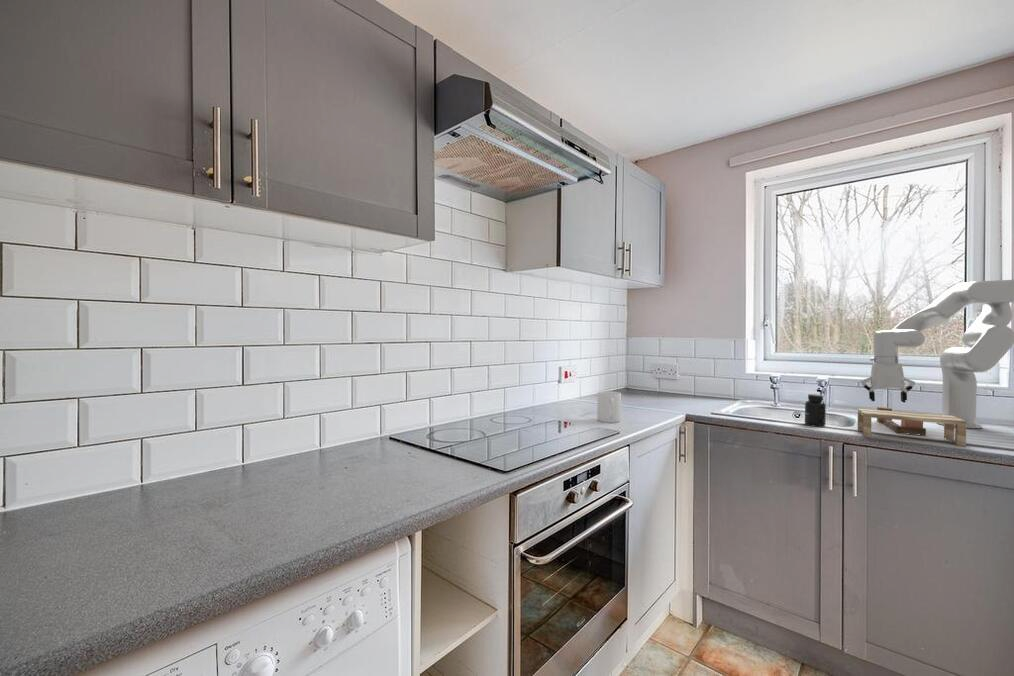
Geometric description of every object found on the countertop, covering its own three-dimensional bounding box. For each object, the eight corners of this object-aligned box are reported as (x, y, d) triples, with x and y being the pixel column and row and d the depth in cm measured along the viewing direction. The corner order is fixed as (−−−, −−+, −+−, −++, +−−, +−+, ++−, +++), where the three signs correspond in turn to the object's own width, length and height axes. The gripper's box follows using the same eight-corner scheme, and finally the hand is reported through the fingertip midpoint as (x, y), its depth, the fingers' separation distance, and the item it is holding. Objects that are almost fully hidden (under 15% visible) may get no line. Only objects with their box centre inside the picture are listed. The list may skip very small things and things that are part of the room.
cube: (900, 430, 165) (901, 417, 165) (918, 432, 162) (918, 418, 162) (904, 433, 161) (904, 419, 161) (922, 434, 158) (923, 421, 158)
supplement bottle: (800, 423, 176) (801, 394, 176) (811, 422, 179) (811, 393, 179) (818, 427, 170) (819, 396, 169) (829, 425, 172) (829, 395, 172)
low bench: (857, 430, 165) (857, 408, 165) (951, 438, 152) (952, 415, 152) (863, 436, 155) (864, 413, 154) (965, 446, 141) (966, 421, 141)
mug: (614, 418, 185) (614, 390, 185) (628, 424, 173) (628, 394, 173) (593, 419, 183) (593, 391, 182) (606, 425, 171) (606, 395, 171)
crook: (876, 420, 183) (877, 406, 183) (905, 423, 179) (905, 408, 179) (893, 432, 161) (893, 416, 161) (925, 435, 156) (926, 419, 156)
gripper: (861, 361, 181) (863, 401, 181) (916, 360, 173) (918, 403, 173) (858, 359, 188) (859, 399, 188) (911, 359, 179) (912, 401, 179)
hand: (887, 401), depth 180 cm, fingers open, 9 cm apart
